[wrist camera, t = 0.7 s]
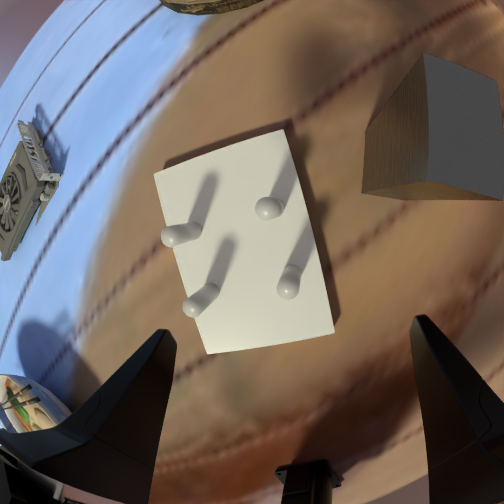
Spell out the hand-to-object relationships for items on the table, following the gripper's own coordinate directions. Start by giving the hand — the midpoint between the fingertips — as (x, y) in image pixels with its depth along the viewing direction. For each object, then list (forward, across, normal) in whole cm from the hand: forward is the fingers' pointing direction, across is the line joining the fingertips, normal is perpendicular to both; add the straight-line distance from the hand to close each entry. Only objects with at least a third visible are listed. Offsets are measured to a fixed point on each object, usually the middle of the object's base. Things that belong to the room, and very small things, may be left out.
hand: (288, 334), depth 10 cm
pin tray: (+12, +4, +5) cm, 14 cm away
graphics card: (+18, +34, -4) cm, 39 cm away
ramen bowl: (+1, +39, +27) cm, 47 cm away
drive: (+15, -8, 0) cm, 17 cm away
